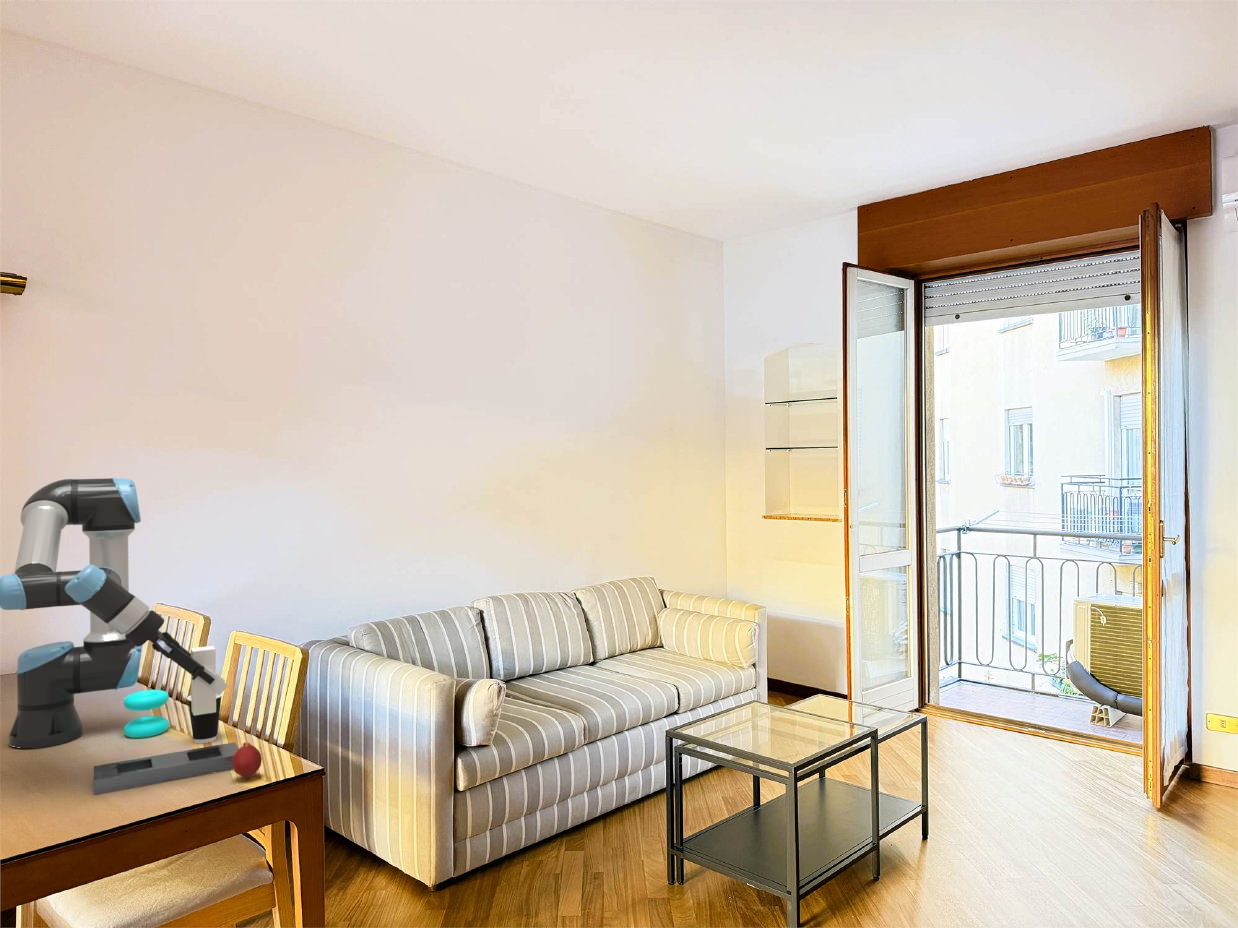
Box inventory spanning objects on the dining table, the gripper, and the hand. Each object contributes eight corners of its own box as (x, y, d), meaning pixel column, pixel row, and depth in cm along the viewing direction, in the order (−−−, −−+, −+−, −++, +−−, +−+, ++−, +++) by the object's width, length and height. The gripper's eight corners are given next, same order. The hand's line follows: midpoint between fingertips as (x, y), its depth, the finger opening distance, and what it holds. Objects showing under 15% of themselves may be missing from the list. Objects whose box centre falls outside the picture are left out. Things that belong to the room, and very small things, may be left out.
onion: (238, 773, 184) (237, 737, 184) (265, 772, 185) (265, 736, 185) (228, 783, 178) (227, 746, 178) (256, 782, 179) (255, 744, 179)
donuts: (173, 687, 220) (161, 697, 210) (174, 725, 220) (161, 737, 210) (131, 689, 218) (117, 700, 208) (132, 728, 218) (117, 740, 208)
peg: (193, 715, 185) (192, 651, 185) (191, 710, 189) (190, 648, 189) (216, 712, 187) (215, 648, 187) (213, 707, 191) (212, 645, 191)
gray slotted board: (93, 794, 173) (93, 780, 173) (93, 779, 182) (93, 765, 182) (241, 767, 188) (241, 754, 188) (235, 754, 196) (235, 741, 196)
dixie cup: (179, 743, 206) (179, 698, 206) (207, 733, 213) (206, 690, 213) (203, 747, 202) (202, 701, 202) (230, 737, 210) (229, 692, 210)
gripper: (121, 629, 188) (204, 692, 196) (124, 642, 173) (214, 710, 181) (148, 603, 190) (229, 666, 199) (153, 614, 175) (240, 682, 184)
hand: (221, 687), depth 190 cm, fingers closed on peg, 4 cm apart
